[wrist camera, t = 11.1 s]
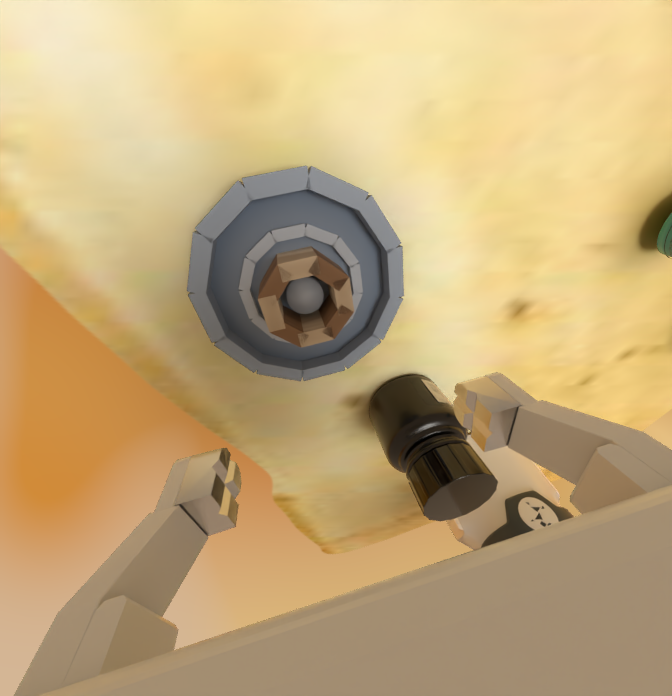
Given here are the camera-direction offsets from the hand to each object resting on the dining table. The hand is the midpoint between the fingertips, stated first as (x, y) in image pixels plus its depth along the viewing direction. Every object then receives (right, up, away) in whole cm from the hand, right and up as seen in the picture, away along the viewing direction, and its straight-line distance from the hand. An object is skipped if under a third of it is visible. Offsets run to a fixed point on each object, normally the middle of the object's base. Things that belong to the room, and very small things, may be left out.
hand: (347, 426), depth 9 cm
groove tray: (-3, +8, +13) cm, 16 cm away
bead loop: (-3, +7, +12) cm, 15 cm away
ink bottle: (+8, -4, +23) cm, 25 cm away
